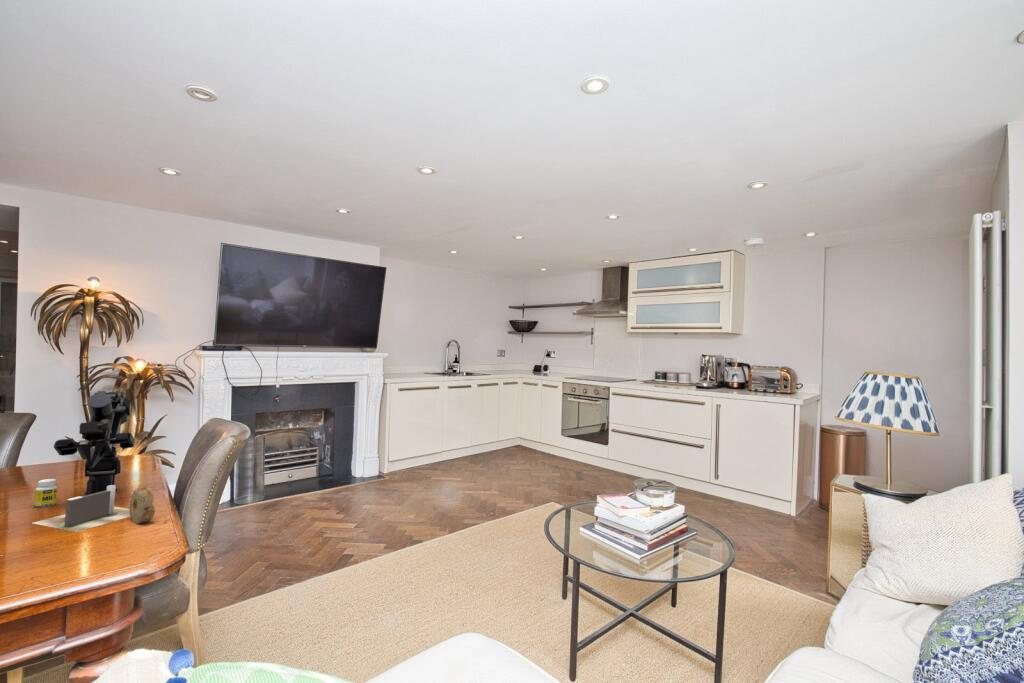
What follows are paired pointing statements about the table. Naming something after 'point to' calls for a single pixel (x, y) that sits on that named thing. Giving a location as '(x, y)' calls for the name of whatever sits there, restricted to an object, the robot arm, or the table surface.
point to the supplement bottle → (45, 493)
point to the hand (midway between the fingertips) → (90, 467)
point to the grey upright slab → (90, 506)
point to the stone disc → (142, 505)
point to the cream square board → (60, 522)
